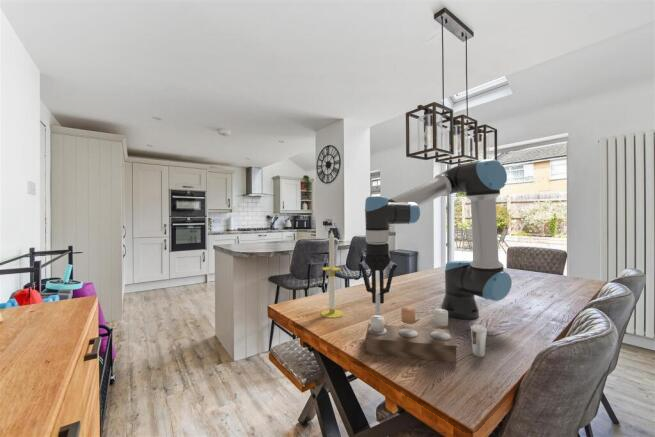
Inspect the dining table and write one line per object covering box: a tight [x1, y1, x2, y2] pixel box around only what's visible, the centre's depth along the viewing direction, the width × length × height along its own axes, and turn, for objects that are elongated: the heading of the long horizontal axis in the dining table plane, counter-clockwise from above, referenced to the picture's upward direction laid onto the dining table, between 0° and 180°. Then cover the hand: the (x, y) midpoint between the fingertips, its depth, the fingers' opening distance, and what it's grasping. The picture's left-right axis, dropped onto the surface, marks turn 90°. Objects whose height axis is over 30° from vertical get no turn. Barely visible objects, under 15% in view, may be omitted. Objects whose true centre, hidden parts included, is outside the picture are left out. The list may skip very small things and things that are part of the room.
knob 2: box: [432, 308, 449, 327], centre depth 92 cm, size 4×4×4 cm
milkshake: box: [468, 323, 488, 358], centre depth 90 cm, size 4×5×10 cm
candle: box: [320, 229, 344, 319], centre depth 126 cm, size 10×10×38 cm
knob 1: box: [370, 314, 385, 332], centre depth 96 cm, size 4×4×4 cm
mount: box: [364, 323, 457, 364], centre depth 94 cm, size 27×12×5 cm, turn 77°
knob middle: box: [400, 306, 416, 325], centre depth 94 cm, size 4×4×4 cm
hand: (378, 312), depth 96 cm, fingers closed
